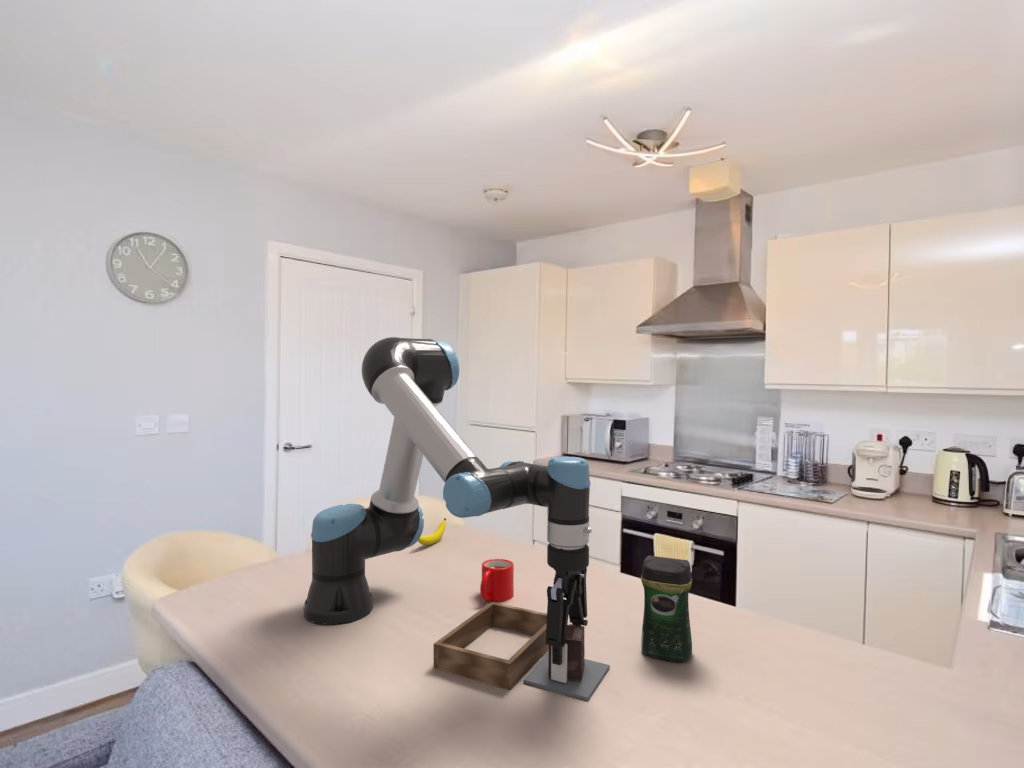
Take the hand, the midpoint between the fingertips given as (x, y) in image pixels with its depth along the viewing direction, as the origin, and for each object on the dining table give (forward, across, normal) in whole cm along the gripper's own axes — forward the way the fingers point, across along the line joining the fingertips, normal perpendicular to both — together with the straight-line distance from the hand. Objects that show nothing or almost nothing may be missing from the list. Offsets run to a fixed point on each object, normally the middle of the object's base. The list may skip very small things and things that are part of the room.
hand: (567, 669), depth 102 cm
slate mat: (+1, 0, 0) cm, 1 cm away
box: (+1, 0, 0) cm, 1 cm away
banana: (+1, +54, +68) cm, 87 cm away
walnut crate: (+1, +2, +15) cm, 15 cm away
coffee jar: (+1, +17, -14) cm, 22 cm away
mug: (+1, +25, +29) cm, 38 cm away
